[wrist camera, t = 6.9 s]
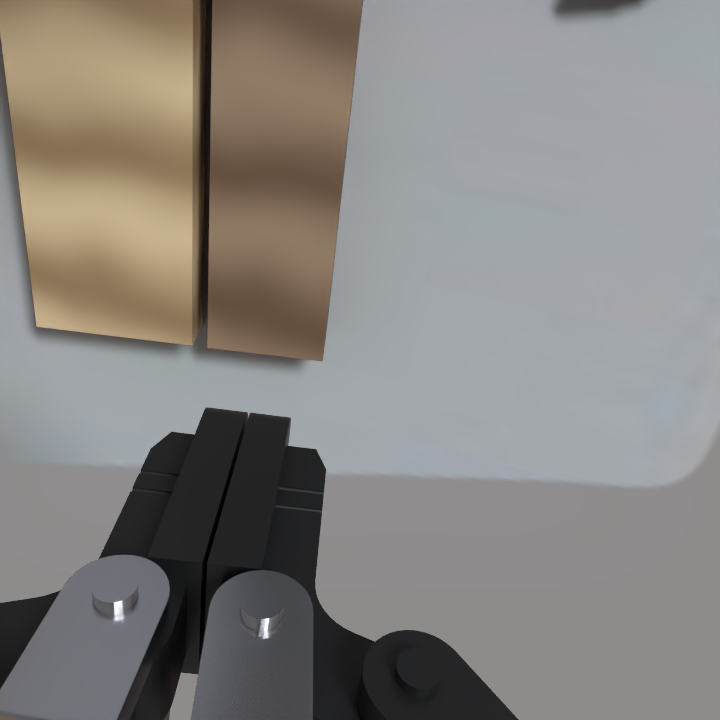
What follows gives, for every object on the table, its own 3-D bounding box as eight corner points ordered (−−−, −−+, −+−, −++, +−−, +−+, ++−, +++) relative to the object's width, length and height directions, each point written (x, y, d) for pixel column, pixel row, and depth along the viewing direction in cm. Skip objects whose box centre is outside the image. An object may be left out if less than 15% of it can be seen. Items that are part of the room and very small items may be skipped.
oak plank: (8, -143, 27) (-23, -152, 25) (207, -114, 28) (193, -121, 26) (56, 307, 37) (36, 326, 35) (202, 325, 37) (192, 345, 35)
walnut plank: (226, -111, 28) (214, -118, 25) (372, -89, 28) (372, -95, 26) (217, 326, 37) (207, 348, 35) (325, 339, 38) (322, 361, 36)
